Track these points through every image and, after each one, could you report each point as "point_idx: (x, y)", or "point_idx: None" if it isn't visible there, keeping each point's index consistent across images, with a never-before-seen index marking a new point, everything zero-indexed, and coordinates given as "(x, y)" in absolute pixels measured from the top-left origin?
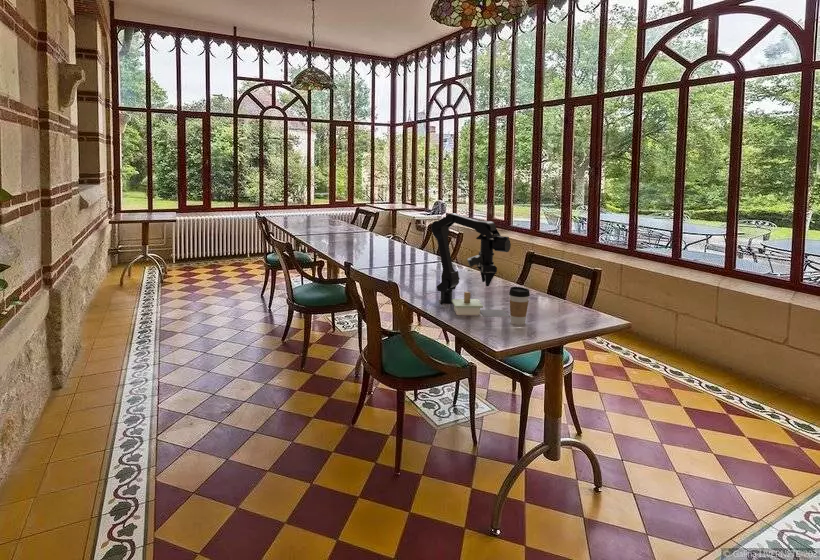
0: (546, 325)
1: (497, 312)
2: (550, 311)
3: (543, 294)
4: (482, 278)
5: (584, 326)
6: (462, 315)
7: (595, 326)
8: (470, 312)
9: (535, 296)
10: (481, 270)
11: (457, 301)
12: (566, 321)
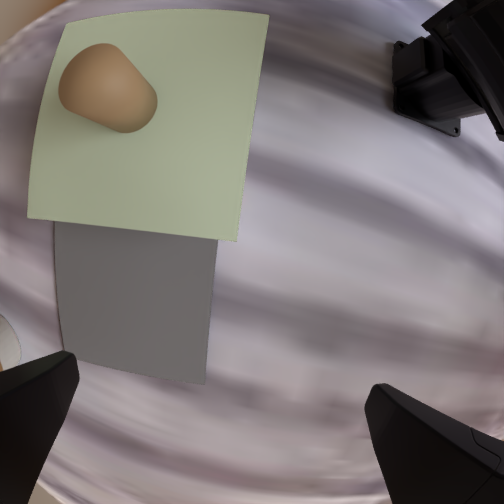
0: None
1: (138, 328)
2: (185, 498)
3: None
4: (398, 415)
5: (41, 474)
6: None
7: (50, 487)
8: None
9: None
10: (490, 492)
11: (176, 36)
12: (71, 474)
